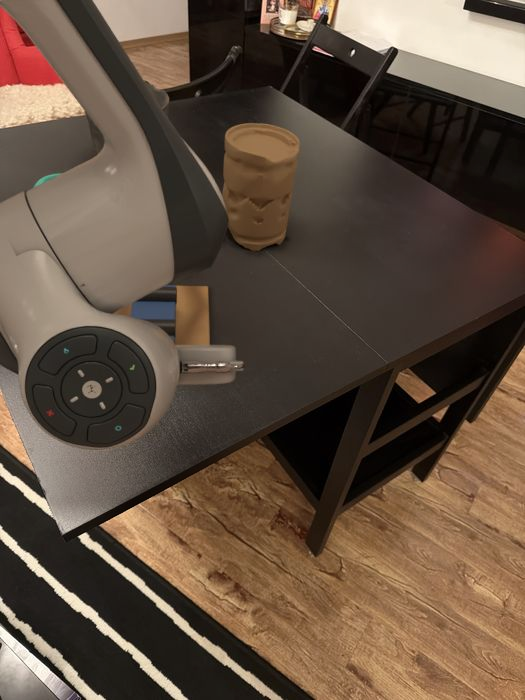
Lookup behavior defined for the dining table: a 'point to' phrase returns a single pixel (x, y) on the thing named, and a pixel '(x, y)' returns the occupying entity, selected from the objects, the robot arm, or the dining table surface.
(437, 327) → the dining table surface
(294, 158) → the container
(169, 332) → the toy car
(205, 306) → the brown flat square board
